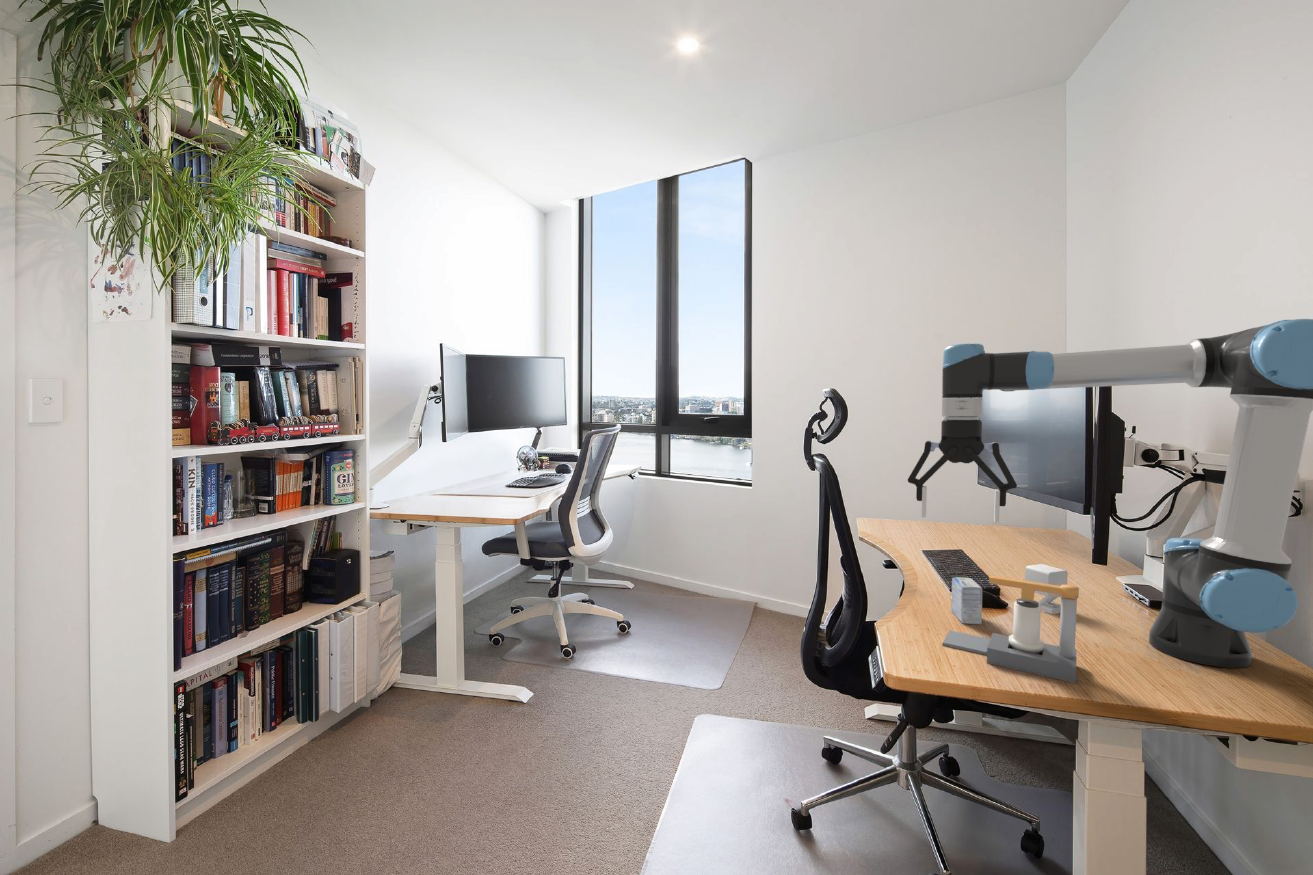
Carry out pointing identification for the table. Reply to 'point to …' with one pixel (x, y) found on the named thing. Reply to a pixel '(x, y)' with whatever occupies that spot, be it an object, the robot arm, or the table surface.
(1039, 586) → the tan long bar
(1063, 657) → the grey post stand
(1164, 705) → the table surface
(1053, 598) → the security camera
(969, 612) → the medicine box
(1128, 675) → the table surface
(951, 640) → the pad
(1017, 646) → the plug
